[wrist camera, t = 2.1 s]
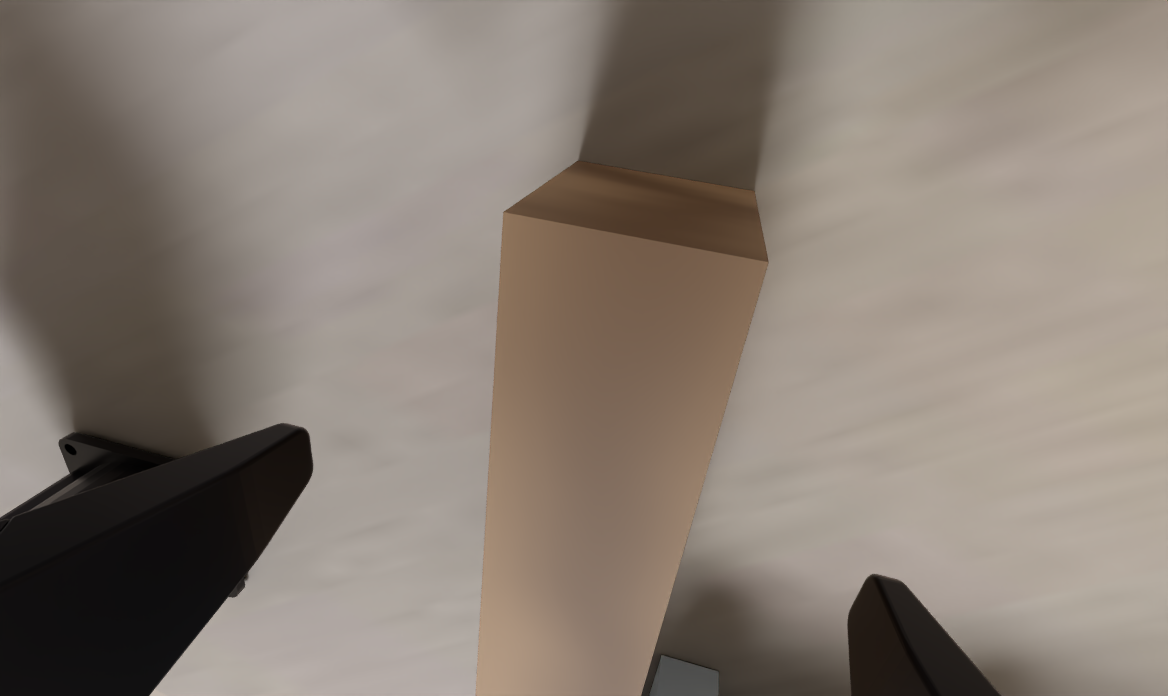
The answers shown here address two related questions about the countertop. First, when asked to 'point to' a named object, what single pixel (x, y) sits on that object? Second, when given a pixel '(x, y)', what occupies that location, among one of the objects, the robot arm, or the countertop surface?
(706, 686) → the grey buttressed wall
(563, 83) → the countertop surface
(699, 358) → the light brown long block
